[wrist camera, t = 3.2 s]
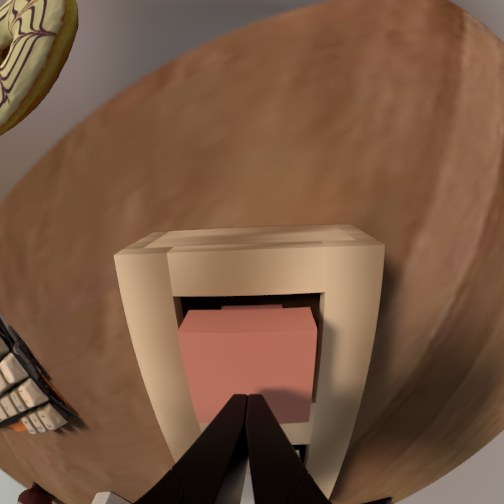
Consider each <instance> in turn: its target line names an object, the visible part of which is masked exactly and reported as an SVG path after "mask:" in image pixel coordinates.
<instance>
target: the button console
mask: <svg viewBox="0 0 504 504" xmlns="http://www.w3.org/2000/svg"><path fill="white" fill-rule="evenodd" d="M384 254H385V245H384V244H383V243H381V242H379V241H378V240H376V239H374V238H373V237H371V236H369V235H368V234H366V233H364V232H363V231H361V230H359V229H357V228H356V227H354V226H352V225H350V224H344V225H302V226H271V227H246V228H223V229H202V230H184V231H166V232H153V233H152V234H150V235H148V236H146V237H144V238H143V239H141V240H139V241H137V242H135V243H134V244H132V245H130V246H128V247H127V248H125V249H123V250H121V251H120V252H118V253H116V254H114V259H115V265H116V271H117V277H118V282H119V287H120V292H121V297H122V301H123V306H124V310H125V315H126V319H127V323H128V327H129V331H130V335H131V339H132V343H133V346H134V350H135V353H136V357H137V360H138V364H139V367H140V370H141V374H142V377H143V380H144V383H145V386H146V389H147V392H148V395H149V398H150V401H151V403H152V406H153V409H154V412H155V414H156V417H157V420H158V422H159V425H160V427H161V430H162V432H163V435H164V437H165V440H166V442H167V444H168V447H169V449H170V451H171V454H172V456H173V458H174V460H175V462H177V461H178V460H179V459H180V458H181V457H182V456H183V454H184V453H185V452H186V451H187V450H188V449H189V447H190V446H191V445H192V444H193V443H194V442H195V440H196V439H197V438H198V437H199V436H200V435H201V433H202V432H203V431H204V430H205V429H206V427H207V426H208V425H209V424H210V423H198V422H197V419H196V415H195V411H194V407H193V403H192V399H191V395H190V391H189V386H188V382H187V378H186V373H185V368H184V364H183V359H182V354H181V349H180V344H179V339H178V334H177V332H178V330H179V328H180V326H181V324H182V322H183V320H184V317H183V310H182V304H181V297H180V296H246V295H277V294H300V293H320V311H319V328H318V343H317V356H316V368H315V379H314V389H313V391H312V399H311V408H310V416H309V422H304V423H289V424H280V426H281V427H282V429H283V431H284V432H285V434H286V436H287V437H288V439H289V441H290V442H291V444H292V445H300V444H307V445H306V452H305V458H304V465H305V467H306V468H307V470H308V473H309V474H311V476H312V478H313V479H314V481H315V482H316V484H317V485H318V486H319V488H320V489H321V491H322V492H323V493H324V495H325V496H326V497H327V498H328V499H329V497H330V495H331V492H332V490H333V487H334V485H335V482H336V479H337V477H338V474H339V471H340V469H341V466H342V463H343V460H344V457H345V454H346V451H347V448H348V445H349V442H350V439H351V435H352V432H353V429H354V425H355V422H356V418H357V415H358V411H359V407H360V403H361V399H362V395H363V391H364V387H365V383H366V378H367V374H368V369H369V364H370V359H371V354H372V349H373V343H374V337H375V331H376V325H377V318H378V311H379V304H380V296H381V287H382V278H383V267H384Z"/></svg>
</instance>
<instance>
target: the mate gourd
mask: <svg viewBox="0 0 504 504" xmlns="http://www.w3.org/2000/svg"><path fill="white" fill-rule="evenodd" d="M33 484H34V485H32V486H33V487H32V488H31V489H27V490H25V491H24V492H22V493H21V494H20V495H19V498H18V501H17V504H52V500H53V498H54V499H55V496H53V495H52V494H50V493H48V492H46V491H44V490H43V489H42V488H41V487H40V486H39V485H38V484H37V483H35V482H34V483H33Z"/></svg>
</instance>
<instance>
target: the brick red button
mask: <svg viewBox="0 0 504 504" xmlns="http://www.w3.org/2000/svg"><path fill="white" fill-rule="evenodd" d="M177 334H178V339H179V344H180V349H181V354H182V359H183V364H184V368H185V373H186V378H187V382H188V386H189V391H190V395H191V399H192V403H193V407H194V411H195V415H196V419H197V422H198V423H211V421H212V420H213V419H214V418H215V416H216V415H217V414H218V413H219V411H220V410H221V409H222V408H223V406H224V405H225V404H226V403H227V401H228V400H229V399H230V398H231V396H232V395H233V394H247V395H249V394H262V395H263V396H264V398H265V400H266V401H267V403H268V405H269V407H270V408H271V410H272V412H273V414H274V415H275V417H276V419H277V421H278V422H279V424H289V423H304V422H309V416H310V408H311V399H312V389H313V379H314V368H315V356H316V342H317V327H316V324H315V321H314V318H313V315H312V312H311V309H310V307H300V308H282V304H280V305H249V306H222V308H221V310H189V311H188V313H187V315H186V317H185V318H184V320H183V322H182V324H181V326H180V328H179V330H178V332H177Z"/></svg>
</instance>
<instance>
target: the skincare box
mask: <svg viewBox="0 0 504 504" xmlns="http://www.w3.org/2000/svg"><path fill="white" fill-rule="evenodd" d="M92 504H131V503H129V502H127V501H126V500H124V499H122V498H121V497H119V496H117V495H116V494H114V493H112V492H100V493H97V494H96V496H95V498H94V500H93V502H92Z"/></svg>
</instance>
